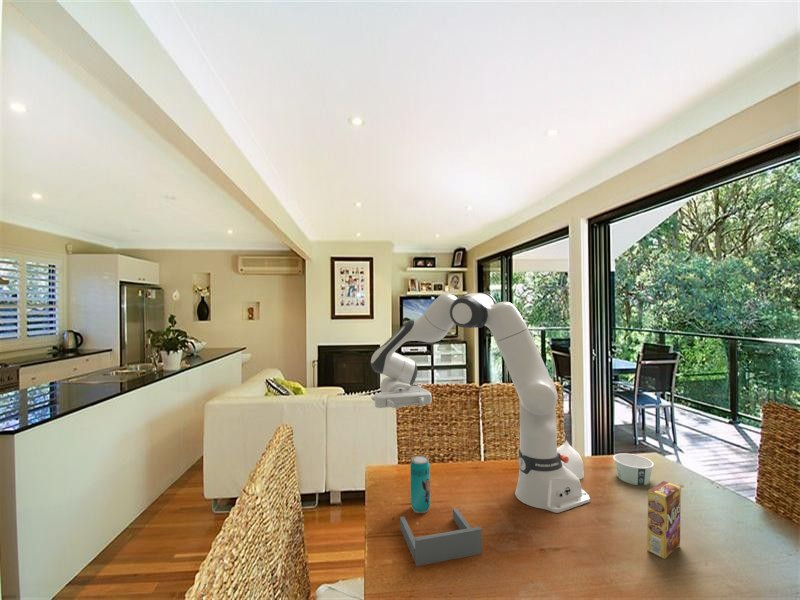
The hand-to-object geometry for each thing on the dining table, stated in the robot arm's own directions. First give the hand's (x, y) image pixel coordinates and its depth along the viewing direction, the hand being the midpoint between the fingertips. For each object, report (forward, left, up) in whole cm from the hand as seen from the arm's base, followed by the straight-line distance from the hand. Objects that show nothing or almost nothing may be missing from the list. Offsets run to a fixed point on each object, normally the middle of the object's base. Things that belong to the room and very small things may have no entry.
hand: (408, 404), depth 125 cm
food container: (-77, +14, -28) cm, 83 cm away
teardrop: (-58, +4, -28) cm, 65 cm away
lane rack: (0, +27, -28) cm, 39 cm away
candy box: (-53, +46, -28) cm, 76 cm away
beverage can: (0, +13, -28) cm, 31 cm away
